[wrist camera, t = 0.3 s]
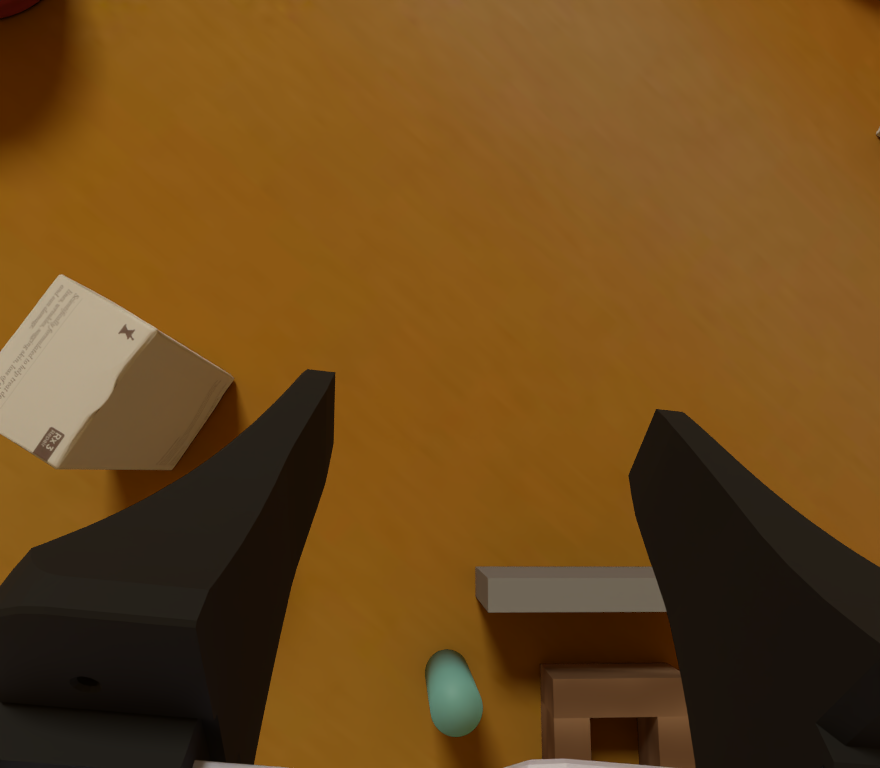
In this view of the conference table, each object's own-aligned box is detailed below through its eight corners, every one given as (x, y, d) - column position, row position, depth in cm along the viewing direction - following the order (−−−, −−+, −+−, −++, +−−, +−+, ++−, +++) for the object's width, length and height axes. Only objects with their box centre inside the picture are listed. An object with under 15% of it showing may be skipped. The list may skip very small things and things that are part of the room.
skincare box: (172, 338, 44) (59, 259, 29) (241, 381, 44) (161, 322, 29) (101, 435, 42) (-56, 403, 28) (172, 480, 42) (51, 471, 27)
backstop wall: (749, 595, 43) (804, 611, 37) (475, 596, 42) (488, 612, 36) (747, 567, 44) (801, 577, 38) (475, 566, 42) (487, 577, 36)
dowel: (468, 696, 41) (482, 736, 34) (424, 696, 40) (430, 737, 34) (468, 649, 41) (482, 679, 34) (425, 649, 41) (430, 680, 34)
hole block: (674, 805, 40) (700, 834, 37) (543, 808, 40) (556, 838, 36) (666, 662, 42) (690, 677, 38) (540, 664, 41) (553, 679, 38)
